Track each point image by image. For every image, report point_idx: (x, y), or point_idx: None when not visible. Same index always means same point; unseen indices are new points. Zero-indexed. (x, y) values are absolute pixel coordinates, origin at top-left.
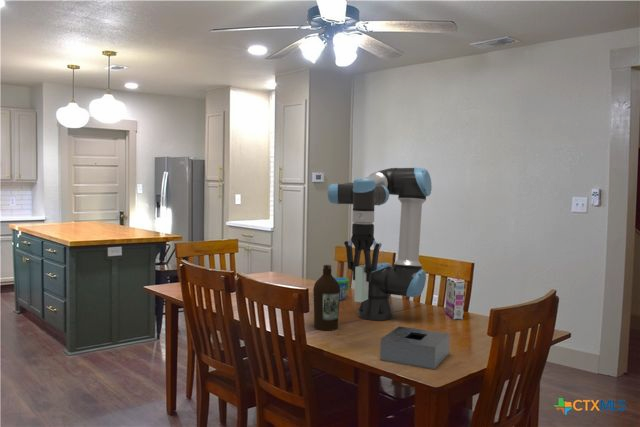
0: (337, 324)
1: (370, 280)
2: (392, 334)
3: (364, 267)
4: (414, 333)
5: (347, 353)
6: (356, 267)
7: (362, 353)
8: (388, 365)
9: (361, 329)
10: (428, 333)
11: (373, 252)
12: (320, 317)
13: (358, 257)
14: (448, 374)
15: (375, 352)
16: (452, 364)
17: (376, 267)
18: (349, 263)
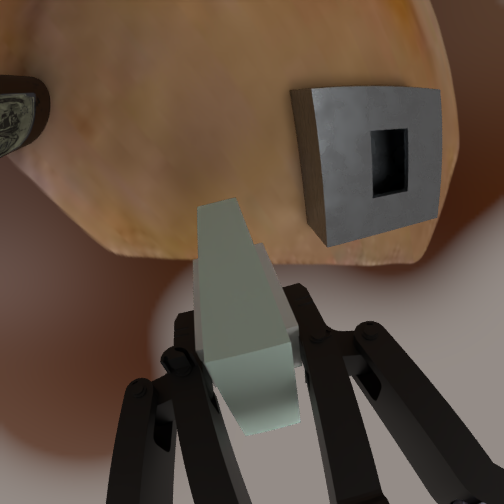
0: (42, 91)
1: (304, 290)
2: (336, 191)
3: (296, 397)
4: (375, 129)
5: None
6: (253, 431)
7: (248, 214)
8: None
9: (102, 32)
10: (407, 117)
11: (427, 482)
12: (10, 152)
13: (240, 483)
14: None
15: (270, 184)
16: None
17: (391, 343)
18: (165, 446)
